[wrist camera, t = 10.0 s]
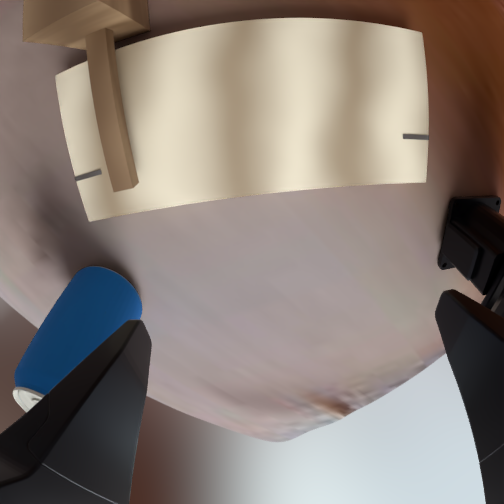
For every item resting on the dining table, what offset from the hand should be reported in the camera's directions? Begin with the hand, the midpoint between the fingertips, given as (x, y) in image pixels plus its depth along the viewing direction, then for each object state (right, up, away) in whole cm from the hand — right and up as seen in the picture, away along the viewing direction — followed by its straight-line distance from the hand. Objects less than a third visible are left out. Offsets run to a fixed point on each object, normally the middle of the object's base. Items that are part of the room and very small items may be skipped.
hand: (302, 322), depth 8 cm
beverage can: (-13, -1, +14) cm, 19 cm away
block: (-9, +12, +6) cm, 16 cm away
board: (-2, +10, +7) cm, 13 cm away
